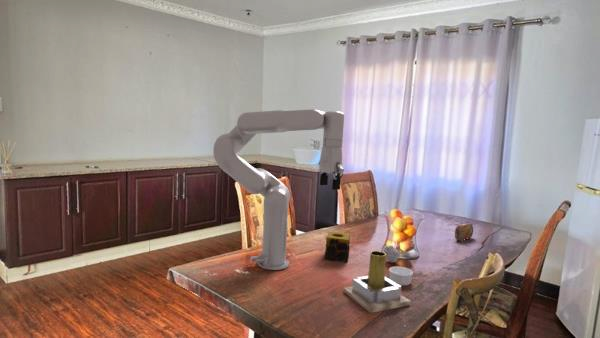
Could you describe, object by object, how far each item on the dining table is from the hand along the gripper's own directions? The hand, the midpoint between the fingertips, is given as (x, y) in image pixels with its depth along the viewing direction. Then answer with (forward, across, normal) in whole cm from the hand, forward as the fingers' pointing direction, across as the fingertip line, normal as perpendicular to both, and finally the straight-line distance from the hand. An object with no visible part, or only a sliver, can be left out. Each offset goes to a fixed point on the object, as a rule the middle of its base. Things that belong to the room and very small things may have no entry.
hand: (329, 187), depth 154 cm
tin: (+34, -14, +93) cm, 100 cm away
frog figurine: (+34, +2, +32) cm, 46 cm away
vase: (+32, +29, +4) cm, 43 cm away
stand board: (+33, +29, +4) cm, 44 cm away
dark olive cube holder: (+34, -10, +12) cm, 37 cm away
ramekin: (+34, +20, +22) cm, 45 cm away
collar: (+32, +29, +4) cm, 43 cm away
